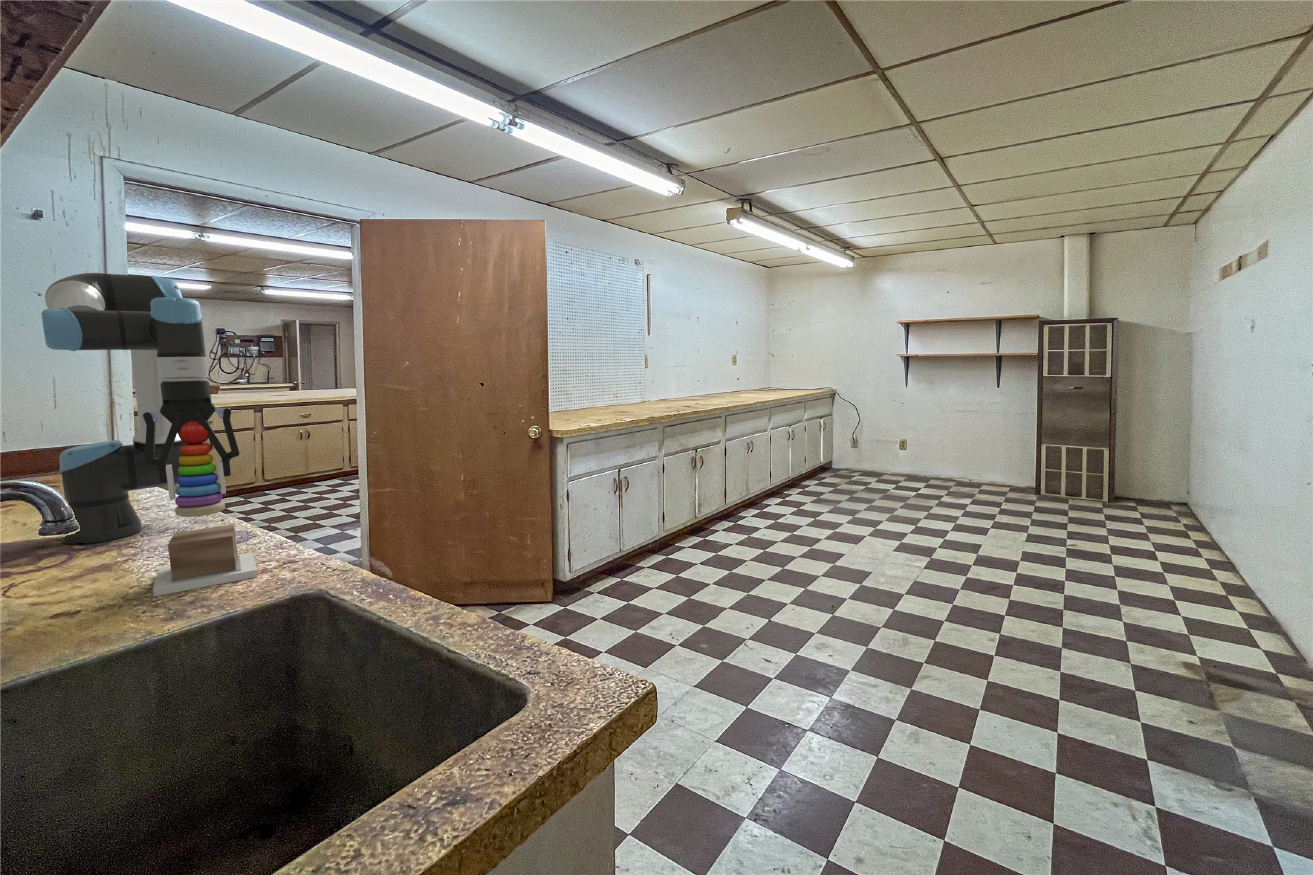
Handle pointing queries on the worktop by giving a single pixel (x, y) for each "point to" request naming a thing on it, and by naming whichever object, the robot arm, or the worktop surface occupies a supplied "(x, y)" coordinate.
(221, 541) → the walnut block
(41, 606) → the worktop surface
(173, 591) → the baseplate
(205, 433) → the stacking toy
